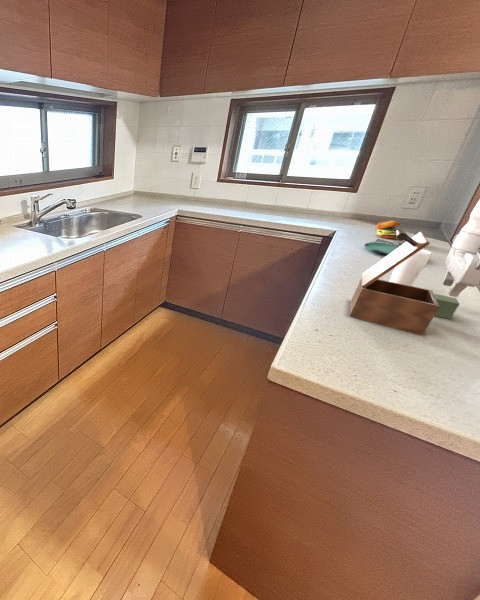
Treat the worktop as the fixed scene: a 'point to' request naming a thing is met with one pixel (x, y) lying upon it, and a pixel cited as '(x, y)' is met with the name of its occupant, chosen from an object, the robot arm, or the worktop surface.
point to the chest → (394, 305)
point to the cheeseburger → (387, 229)
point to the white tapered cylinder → (410, 268)
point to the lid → (395, 256)
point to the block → (446, 306)
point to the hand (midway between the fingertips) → (449, 290)
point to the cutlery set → (382, 246)
